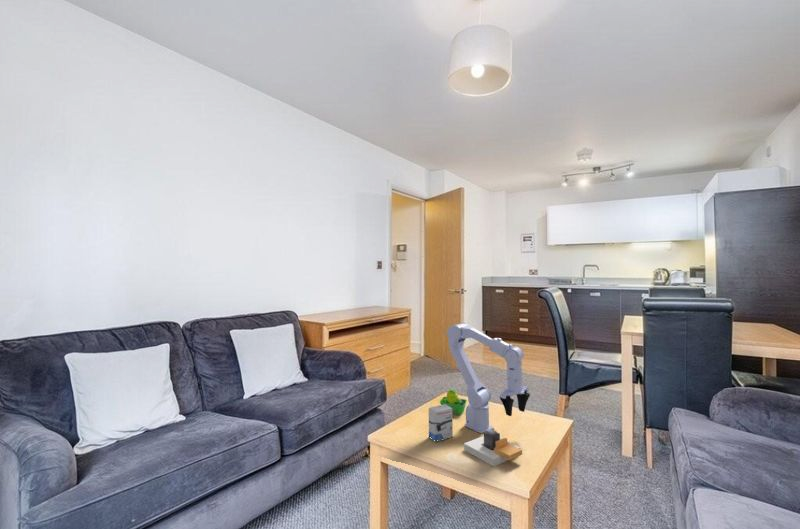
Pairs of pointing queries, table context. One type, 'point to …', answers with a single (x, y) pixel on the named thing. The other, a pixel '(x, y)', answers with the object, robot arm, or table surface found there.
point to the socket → (484, 451)
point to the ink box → (440, 422)
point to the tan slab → (507, 449)
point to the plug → (491, 439)
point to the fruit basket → (454, 402)
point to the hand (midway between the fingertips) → (515, 413)
